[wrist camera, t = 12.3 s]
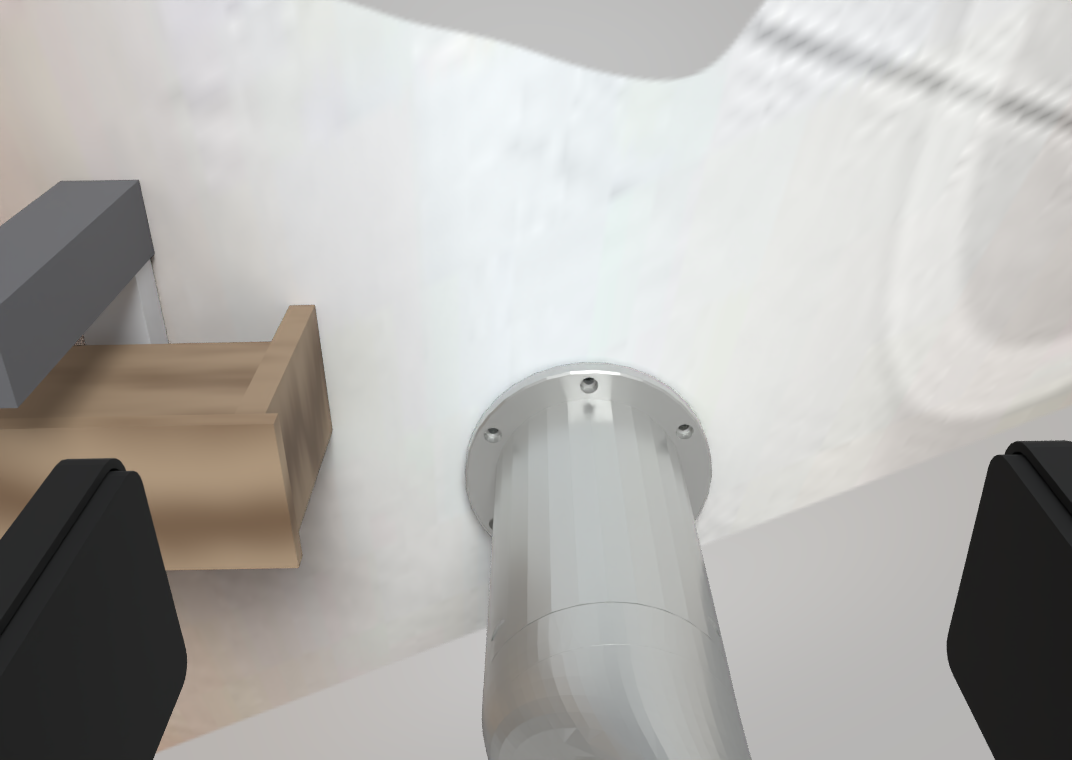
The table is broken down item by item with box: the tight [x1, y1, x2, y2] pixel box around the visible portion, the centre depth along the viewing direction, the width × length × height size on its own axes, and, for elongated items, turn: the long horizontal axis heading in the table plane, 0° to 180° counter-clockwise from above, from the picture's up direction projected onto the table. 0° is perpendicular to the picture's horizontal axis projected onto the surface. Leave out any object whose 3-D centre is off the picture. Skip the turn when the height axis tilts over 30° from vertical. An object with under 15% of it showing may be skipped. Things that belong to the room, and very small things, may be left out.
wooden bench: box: [0, 305, 332, 570], centre depth 44 cm, size 7×25×11 cm, turn 91°
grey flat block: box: [0, 180, 169, 408], centre depth 41 cm, size 12×4×14 cm, turn 1°
